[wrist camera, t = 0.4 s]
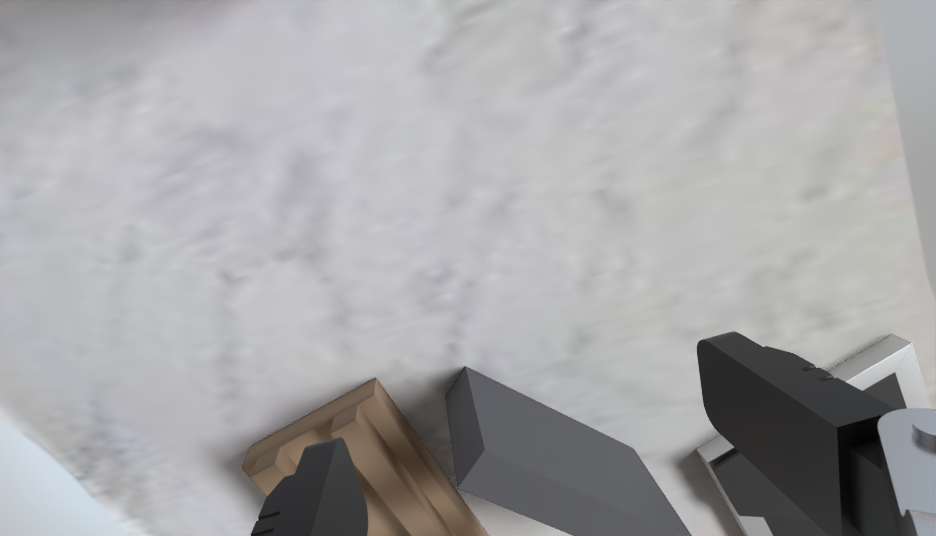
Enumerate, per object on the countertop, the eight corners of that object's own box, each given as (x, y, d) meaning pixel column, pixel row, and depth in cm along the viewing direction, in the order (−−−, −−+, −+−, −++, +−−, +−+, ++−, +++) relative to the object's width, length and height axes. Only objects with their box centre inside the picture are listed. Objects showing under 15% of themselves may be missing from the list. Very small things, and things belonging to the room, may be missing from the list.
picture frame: (690, 442, 36) (780, 602, 42) (713, 470, 33) (805, 635, 40) (883, 329, 35) (943, 510, 41) (923, 347, 32) (980, 538, 39)
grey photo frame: (444, 396, 31) (457, 488, 24) (465, 365, 31) (485, 449, 23) (612, 473, 35) (669, 575, 27) (632, 447, 34) (696, 543, 27)
